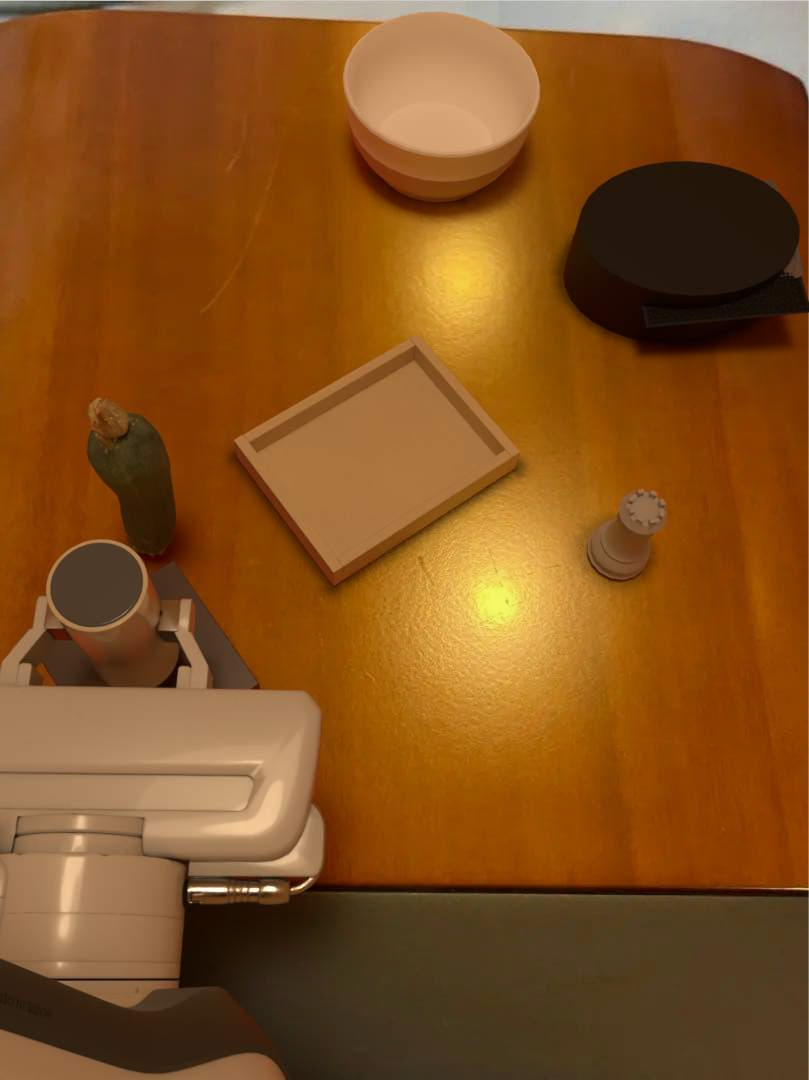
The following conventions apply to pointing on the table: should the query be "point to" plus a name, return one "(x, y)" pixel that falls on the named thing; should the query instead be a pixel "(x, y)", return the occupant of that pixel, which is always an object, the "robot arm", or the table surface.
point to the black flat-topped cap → (685, 253)
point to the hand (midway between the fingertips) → (118, 600)
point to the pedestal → (213, 643)
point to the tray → (375, 457)
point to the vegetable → (134, 474)
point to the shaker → (111, 613)
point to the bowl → (439, 103)
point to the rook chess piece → (627, 535)
